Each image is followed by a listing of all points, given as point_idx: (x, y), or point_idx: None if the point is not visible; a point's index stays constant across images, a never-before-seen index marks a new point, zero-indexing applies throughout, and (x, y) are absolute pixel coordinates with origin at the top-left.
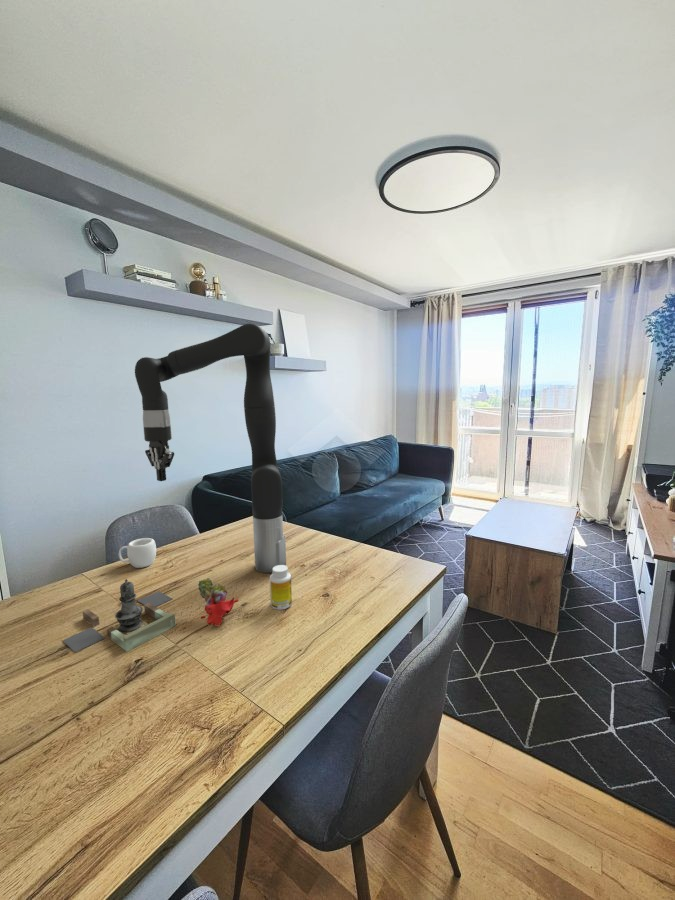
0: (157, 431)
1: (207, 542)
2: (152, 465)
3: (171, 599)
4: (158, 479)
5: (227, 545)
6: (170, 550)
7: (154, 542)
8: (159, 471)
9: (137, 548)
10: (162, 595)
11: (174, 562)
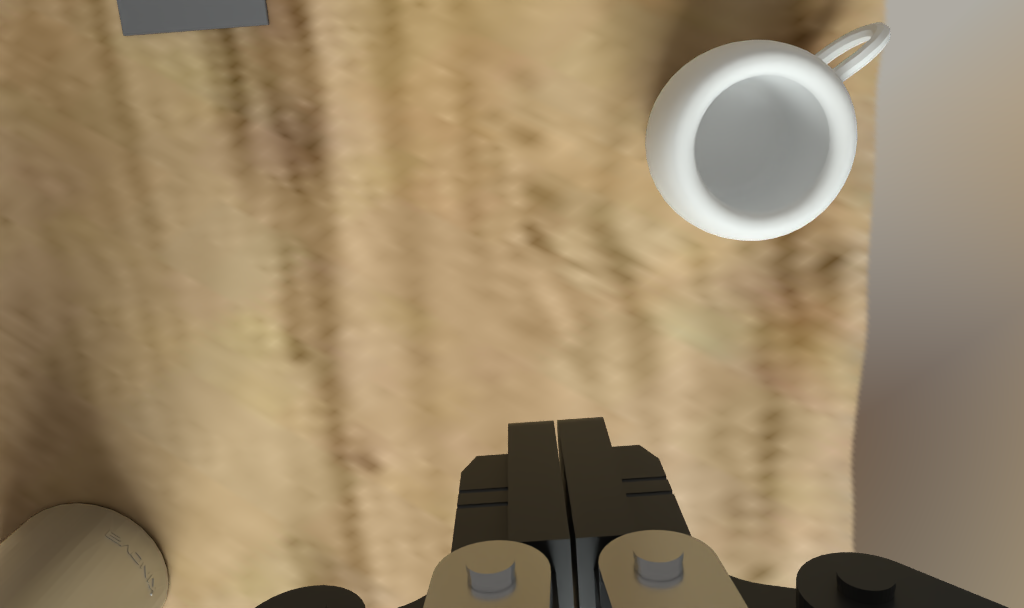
0: None
1: None
2: (838, 572)
3: (124, 29)
4: (548, 427)
5: None
6: (779, 352)
7: (701, 223)
8: (512, 535)
9: (689, 81)
10: (198, 14)
11: (578, 277)
